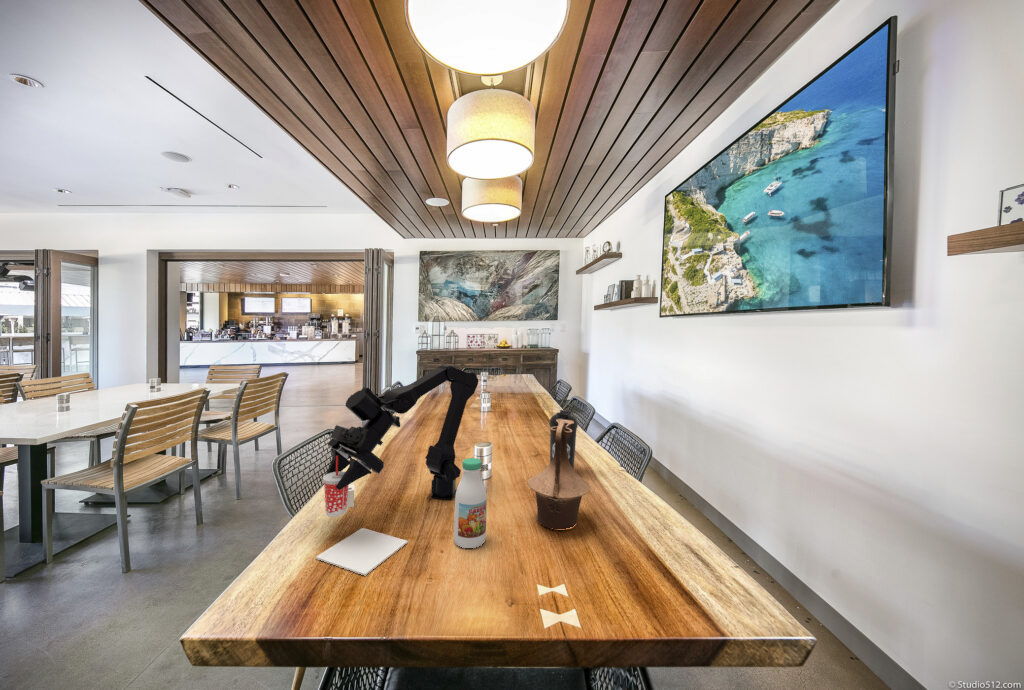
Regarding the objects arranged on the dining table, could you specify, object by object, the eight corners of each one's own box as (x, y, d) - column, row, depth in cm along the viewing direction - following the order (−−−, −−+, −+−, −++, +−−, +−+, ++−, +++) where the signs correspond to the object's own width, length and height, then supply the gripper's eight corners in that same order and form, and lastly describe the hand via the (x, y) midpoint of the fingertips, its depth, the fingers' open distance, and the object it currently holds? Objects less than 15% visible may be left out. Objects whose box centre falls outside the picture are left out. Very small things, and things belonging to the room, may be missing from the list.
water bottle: (544, 477, 138) (547, 413, 138) (550, 467, 148) (552, 407, 147) (573, 481, 136) (576, 415, 135) (577, 471, 145) (579, 410, 144)
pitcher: (588, 543, 96) (593, 431, 95) (520, 533, 99) (524, 425, 98) (588, 511, 113) (592, 415, 112) (531, 504, 117) (534, 411, 116)
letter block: (353, 500, 116) (354, 483, 115) (354, 507, 111) (354, 489, 111) (335, 502, 114) (335, 485, 114) (334, 510, 109) (334, 492, 109)
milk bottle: (447, 544, 94) (449, 462, 93) (465, 530, 100) (467, 453, 100) (474, 553, 90) (476, 468, 89) (491, 538, 97) (493, 458, 96)
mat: (362, 530, 99) (362, 527, 99) (407, 543, 93) (407, 540, 93) (315, 559, 86) (315, 556, 86) (365, 576, 80) (365, 574, 80)
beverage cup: (339, 504, 99) (340, 449, 98) (355, 510, 96) (356, 455, 95) (316, 513, 94) (317, 456, 93) (332, 521, 91) (333, 462, 90)
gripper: (335, 407, 103) (290, 458, 95) (372, 419, 91) (324, 479, 83) (363, 430, 109) (322, 480, 101) (401, 445, 97) (359, 503, 89)
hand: (331, 485), depth 93 cm, fingers closed on beverage cup, 6 cm apart
